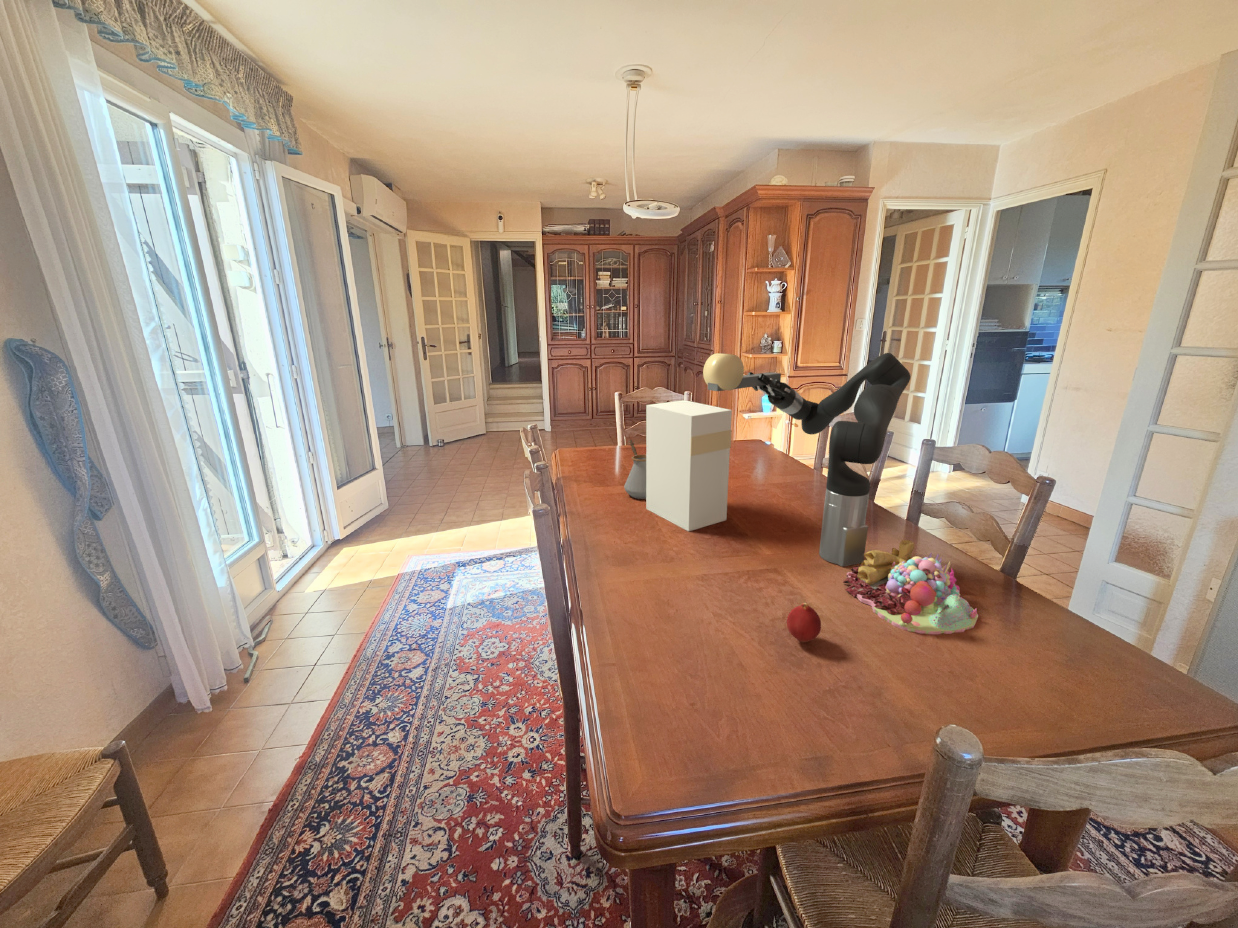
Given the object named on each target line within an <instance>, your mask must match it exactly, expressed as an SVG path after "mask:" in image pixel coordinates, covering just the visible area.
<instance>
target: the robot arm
mask: <svg viewBox="0 0 1238 928" xmlns="http://www.w3.org/2000/svg"><path fill="white" fill-rule="evenodd" d="M763 373H764V372H762V373H759V374H760V375H759V378H758V380H759V381H760V382H762V383H763V384H764V385H763V386H755V387H751V388H752V389H753V390H754V391H755V392H758V391H761V392H762V393H763V394H764V395H766V396H767V400H768V402H769V404H772V406H774V407H775V408H777V409H778V410H780V411H781V412H783V413H785V414H787V415H788V416H790V417H791V418H792V419H794V420H796V421H801V422H800V423H801V429H802V431H803V433H805V434H807V435H816V434H819V433H821V432H823V431H824V430H825V429H827V427H828V426H829V425H830V424H831V423H833V420H834V419H835V418H837V417H838V416H841V415H842V414H844V413H845V412H847V411H848V410H849V409H851V407H852V406H853V405H854V406H853V415H854V418H855V420H856V421H849V420H837V421H836V422H835V423H834V424H833V426H832V427H831V430H830V436H829V447H828V465H827V477H826V484H825V485H826V486H825V495H824V496H825V498H824V505H823V512H822V513H823V514H822V522H821V532H820V542H819V551H818V552H819V553H818V554H819V556H820V558H821V559H822V560H824V561H826V562H829V563H831V564H836V565H839V566H841V567H843V568H844V567H847V566H854V565H859V564H861V563H862V562H863V561H864V560H865V556H864V554H865V553H866V551H865V550H866V546H867V539H868V532H869V526H868V524H866V518H867V511H868V503H869V497H870V489H871V482H870V479H869V478H867V477H866V476H864V475H862V474H860V472H859V473H858V472H856V471H855V470H854V469H852V468H851V467H849V466H848V464H847V463H853V464H860V465H873V464H875V463H876V462H877V461H878V460H879V458H880V457H881V454H882V451H883V448H884V444H885V440H886V436H887V431H888V428H889V425H890V423H891V421H892V419H893V417H894V414H895V412H896V409H897V406H898V403H899V400H900V397H901V396H902V394H903V392H904V391H905V390H906V388H907V386H909V385H908V384H909V383H910V381H911V373H910V371H909V370H908V369H907V368H906V367H905V365H904V364H903V363H902V362H900V360H898V358H897V357H896V356H894V354H893V353H891V352H885V353H883V354H881V355H879V356H877V357H876V358H874V359H873V360H871V361H870V362H869V363H868V364H867V365H865V366H864V367H863V368H862V369H860V370H859V371H858V372H857V373H856V374H854V375H853V376H852V377H850V379H848V381H846V382H845V383H844V384H842V386H840V387H839V388H838V389H837V390H835V391H834V392H832V393H830V394H829V395H828V396H826V397H825V398H823V399H821V401H820V402H819V403H817V402H813V401H810V400H806V399H805V398H804V397H803V395H801V394H799V392H798V391H796V390H795V389H793V388H792V387H791V386H790V385H789V384H788V383H785V382H782V381H778V380H773V379H772V378H768V377H767V376H766V375H764V374H763ZM751 374H754V372H752V371H749V372H748V373H747V375H751ZM865 381H867V382H869V384H870V386H867V387H866V388H865V389H863V390H862V391H861V392H860V394H859V395H858V393H859V390H860V388H861V386H862V384H863V383H864V382H865ZM857 396H858V397H857ZM856 399H857V400H856Z"/></svg>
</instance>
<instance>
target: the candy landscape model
mask: <svg viewBox="0 0 1238 928" xmlns="http://www.w3.org/2000/svg"><path fill="white" fill-rule="evenodd" d="M914 550H915V543H914V542H913V541H911V540H910V539H903V540H901V541H900V543H899V545H898V549H897V548H895V547H892V548H891V552H887V551H886V552H885V551H882V550H878V549H877V550H876V549H874V550H872V549H871V550H869V551H867V552H865V554H864V558H865V559H864V561H863V562H862V563H859V564H860V565H859V566H858V565H856V566H855V567H852V568H851V569H850V572H849V571H848V572H847V573H846V579H844V580H843V582H842V583H843V584H847V585H848V584H849V585H850V586H848V587H847V588H845V589H844V591H846V592H847V593H849V594H850V595H851V596H852V597H854V598H855V597H856V598H857V599H858V600H859V601H860V603H864V604H866V605H868V606H870V607H871V609H872V612H873V613H875V614H876V615H877V616H878V617H879V618H880V619H882V620H884V621H886V622H887V623H889V624H891V625H892V626H894V627H896V628H899V629H901V630H904V631H906V632H912V633H913V632H914V633H916V634H926V635H928V634H929V635H941V634H946V635H947V634H949V635H951V634H954V633H965V631H966V630H971V629H974V627H975V626H976V623H977V620H978V618H979V614H978V613H977V611H978V610H977V607H976V608H975V609H974V608H973V606H970V604H969V602H968V601H967V600H966V599H965V598H963V597H962V596H961V595H962V594H960V589H961V588H960V585H957V584H956V582H957V578H956V577H955V575H954V574H955V571H954V570H953V568H951V570H950V571H951V572H949V569H950V566H951V563H952V562H951V561H949V562H948V563H947V564H945V565H944V566H942V556H941V557H940V554H939V553H937V554H936V557H935V558H934V557H932V556H933V555H932V551H931V552H930V553H929V555H928V556H925V557H921V556H916V555H915V556H913V557H912V554H913V551H914ZM939 557H940V558H939Z"/></svg>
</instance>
